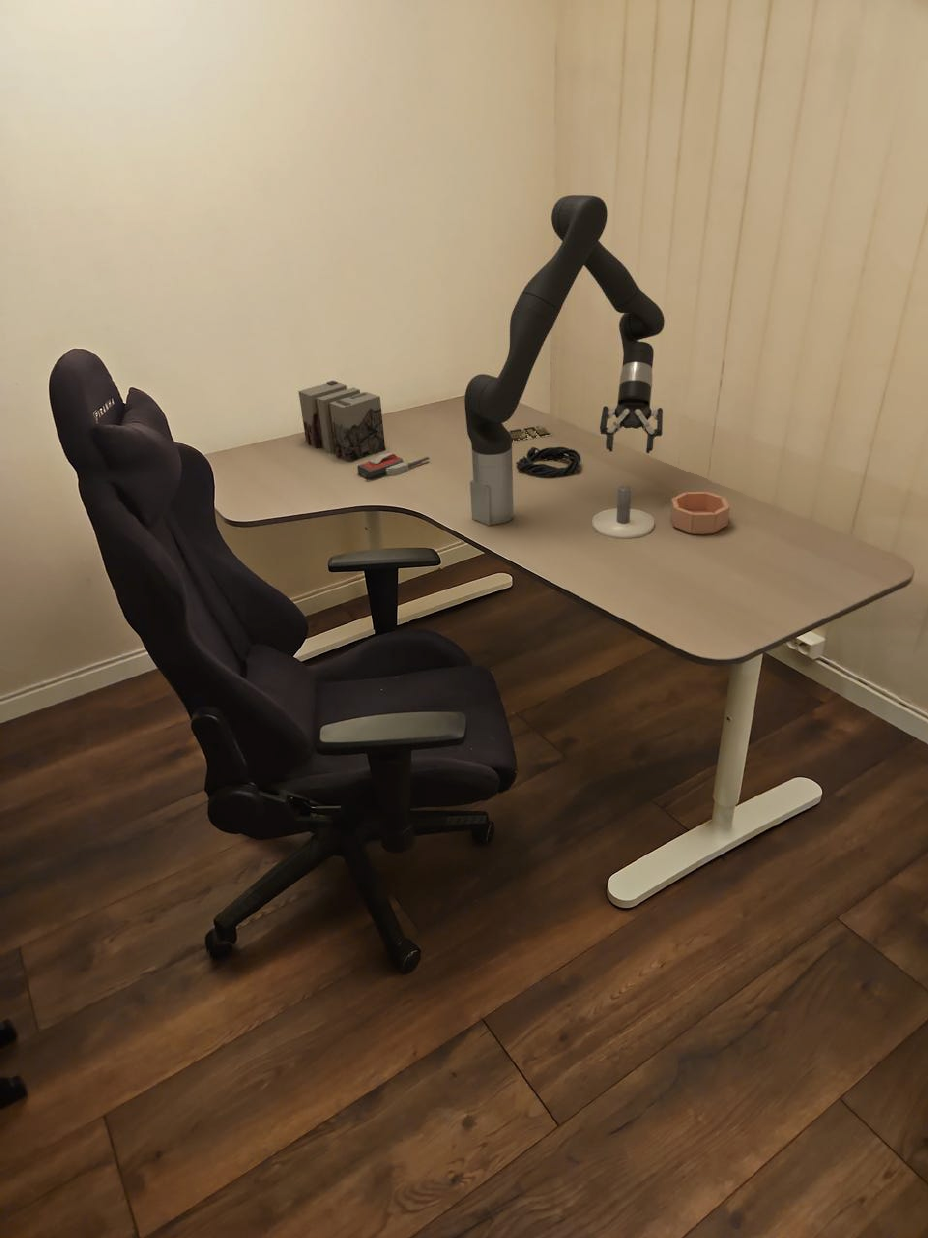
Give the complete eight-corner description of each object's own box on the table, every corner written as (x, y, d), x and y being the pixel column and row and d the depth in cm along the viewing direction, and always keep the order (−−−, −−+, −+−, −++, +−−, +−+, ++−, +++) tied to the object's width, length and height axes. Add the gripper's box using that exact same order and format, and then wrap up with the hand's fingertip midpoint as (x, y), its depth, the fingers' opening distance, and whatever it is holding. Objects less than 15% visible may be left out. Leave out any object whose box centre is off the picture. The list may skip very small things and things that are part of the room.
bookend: (342, 430, 267) (335, 376, 258) (392, 450, 250) (386, 394, 242) (297, 444, 258) (289, 390, 250) (346, 466, 242) (339, 408, 233)
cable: (591, 467, 233) (591, 451, 231) (561, 485, 224) (561, 469, 222) (538, 454, 243) (537, 439, 240) (507, 471, 234) (506, 455, 231)
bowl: (704, 540, 194) (706, 519, 191) (660, 523, 202) (661, 503, 199) (736, 522, 200) (738, 502, 198) (692, 507, 208) (694, 487, 206)
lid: (626, 545, 194) (628, 507, 189) (579, 526, 203) (580, 489, 199) (666, 524, 202) (669, 487, 197) (619, 507, 211) (620, 471, 206)
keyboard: (482, 449, 248) (482, 443, 247) (473, 439, 256) (472, 432, 255) (554, 437, 253) (554, 431, 252) (543, 428, 260) (543, 421, 259)
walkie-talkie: (371, 485, 230) (432, 463, 241) (369, 469, 228) (430, 448, 238) (353, 476, 236) (412, 455, 247) (351, 460, 234) (411, 440, 244)
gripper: (604, 378, 205) (597, 443, 202) (666, 379, 202) (660, 445, 199) (605, 393, 212) (599, 456, 209) (666, 394, 209) (660, 458, 206)
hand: (629, 450), depth 204 cm, fingers open, 8 cm apart
